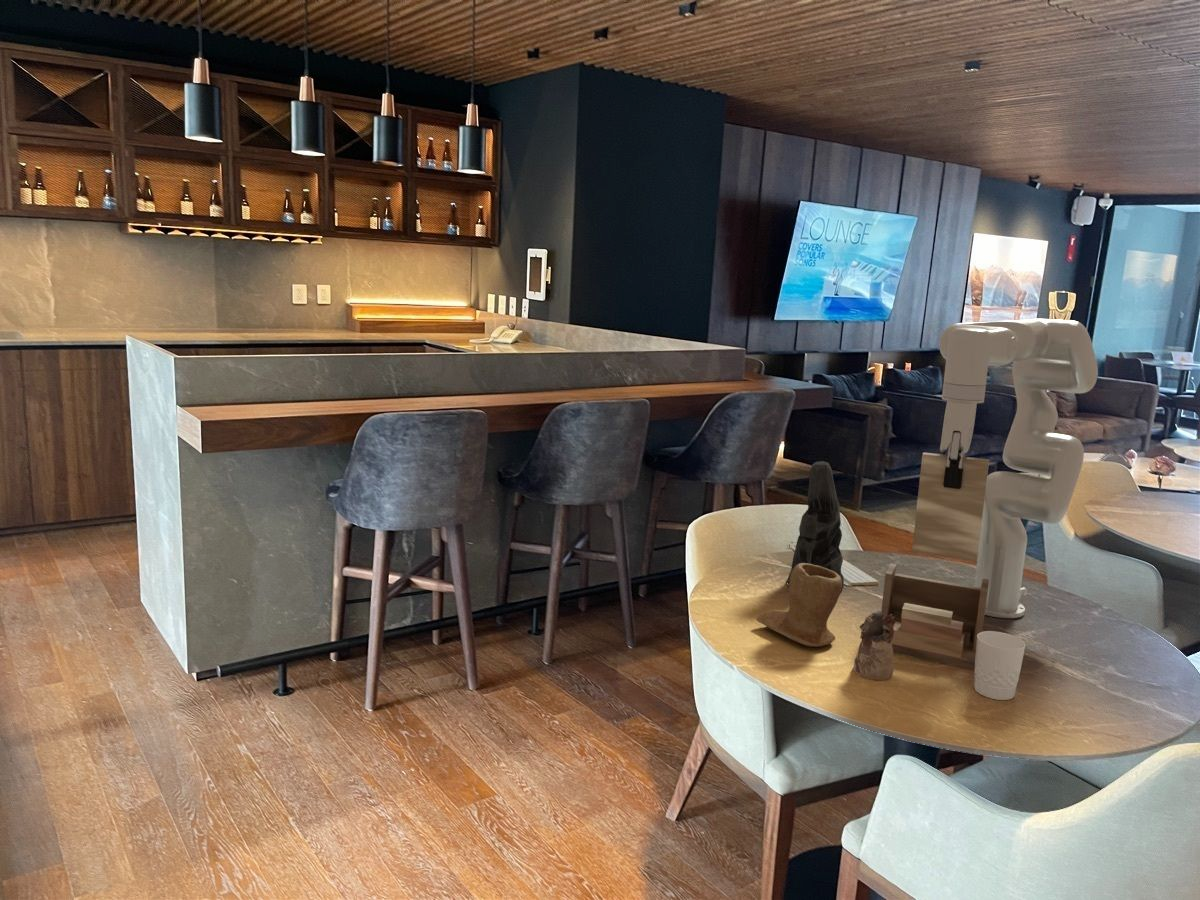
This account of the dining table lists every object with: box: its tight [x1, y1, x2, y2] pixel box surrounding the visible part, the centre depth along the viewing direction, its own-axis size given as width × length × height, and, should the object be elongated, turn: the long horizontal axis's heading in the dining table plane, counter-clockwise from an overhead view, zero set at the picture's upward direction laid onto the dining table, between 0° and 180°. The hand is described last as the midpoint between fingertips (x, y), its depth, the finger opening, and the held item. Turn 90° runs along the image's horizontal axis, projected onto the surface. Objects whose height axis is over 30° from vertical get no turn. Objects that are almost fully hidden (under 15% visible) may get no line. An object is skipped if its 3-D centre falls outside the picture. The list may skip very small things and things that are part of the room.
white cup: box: [973, 630, 1026, 701], centre depth 157 cm, size 8×8×10 cm
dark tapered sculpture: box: [786, 460, 845, 592], centre depth 208 cm, size 14×14×30 cm
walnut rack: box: [881, 563, 989, 671], centre depth 175 cm, size 14×19×14 cm
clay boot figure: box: [756, 563, 843, 648], centre depth 179 cm, size 15×12×15 cm
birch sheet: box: [911, 451, 990, 563], centre depth 173 cm, size 2×12×20 cm, turn 64°
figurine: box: [852, 610, 895, 681], centre depth 163 cm, size 7×7×12 cm
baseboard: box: [786, 541, 879, 586], centre depth 226 cm, size 30×3×10 cm
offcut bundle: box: [891, 603, 965, 658], centre depth 172 cm, size 5×13×8 cm, turn 64°
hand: (952, 485), depth 172 cm, fingers closed on birch sheet, 2 cm apart
